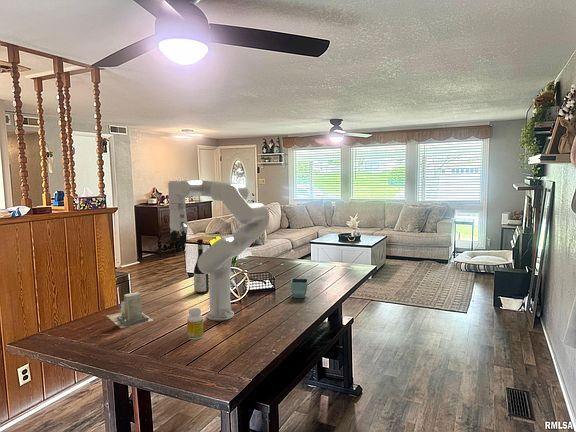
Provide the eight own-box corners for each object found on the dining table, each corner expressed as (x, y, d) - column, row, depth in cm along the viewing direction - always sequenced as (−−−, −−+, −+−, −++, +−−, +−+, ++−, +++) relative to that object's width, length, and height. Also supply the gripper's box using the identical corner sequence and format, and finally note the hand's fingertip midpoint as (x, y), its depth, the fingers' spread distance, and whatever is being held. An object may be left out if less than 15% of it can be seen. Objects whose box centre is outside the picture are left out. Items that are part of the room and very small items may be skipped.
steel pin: (129, 314, 184) (129, 302, 183) (122, 316, 182) (122, 303, 181) (127, 313, 186) (126, 300, 185) (120, 314, 184) (120, 301, 183)
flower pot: (308, 294, 217) (308, 278, 216) (307, 299, 209) (307, 282, 208) (292, 294, 218) (292, 278, 217) (290, 299, 209) (290, 282, 208)
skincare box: (139, 317, 180) (138, 291, 178) (142, 320, 176) (141, 293, 175) (124, 321, 176) (123, 294, 174) (127, 324, 172) (126, 296, 171)
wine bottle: (205, 294, 218) (203, 240, 215) (192, 294, 220) (190, 240, 217) (211, 290, 226) (209, 238, 223) (198, 289, 228) (196, 238, 225)
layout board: (153, 323, 177) (153, 316, 177) (120, 331, 168) (120, 324, 167) (137, 311, 192) (136, 305, 192) (106, 318, 183) (106, 312, 183)
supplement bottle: (195, 341, 157) (194, 313, 156) (184, 338, 161) (183, 310, 160) (206, 335, 163) (206, 309, 162) (195, 332, 166) (194, 306, 165)
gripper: (193, 207, 185) (194, 243, 186) (176, 205, 198) (177, 239, 199) (177, 208, 180) (179, 245, 181) (162, 206, 193) (163, 241, 195)
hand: (178, 242), depth 190 cm, fingers open, 9 cm apart
